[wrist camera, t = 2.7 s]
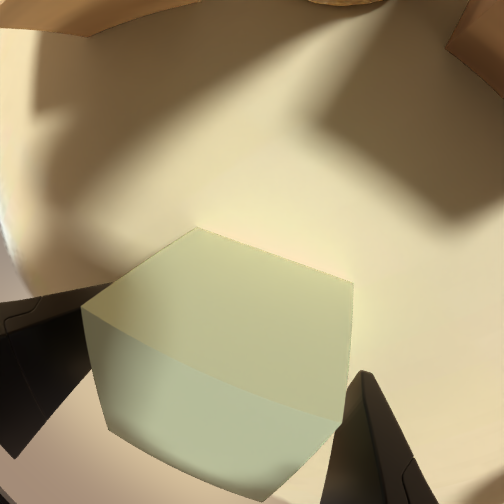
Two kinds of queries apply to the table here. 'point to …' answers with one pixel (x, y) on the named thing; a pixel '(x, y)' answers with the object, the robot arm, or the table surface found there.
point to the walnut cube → (481, 41)
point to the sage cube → (222, 360)
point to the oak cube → (78, 14)
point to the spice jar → (343, 2)
